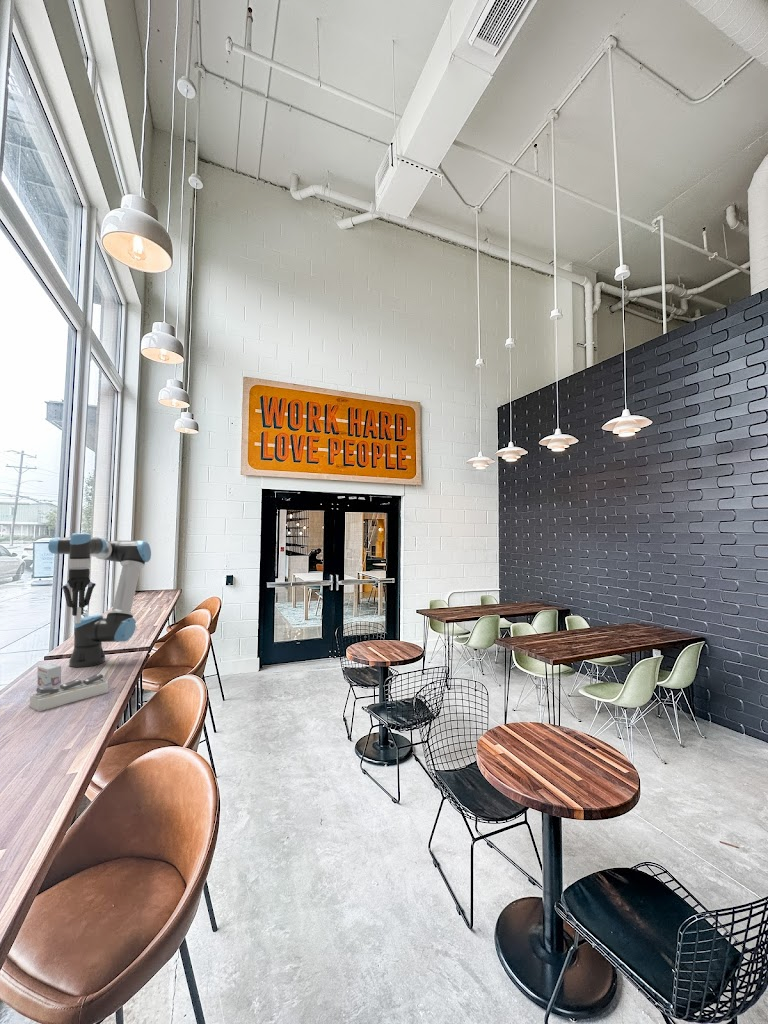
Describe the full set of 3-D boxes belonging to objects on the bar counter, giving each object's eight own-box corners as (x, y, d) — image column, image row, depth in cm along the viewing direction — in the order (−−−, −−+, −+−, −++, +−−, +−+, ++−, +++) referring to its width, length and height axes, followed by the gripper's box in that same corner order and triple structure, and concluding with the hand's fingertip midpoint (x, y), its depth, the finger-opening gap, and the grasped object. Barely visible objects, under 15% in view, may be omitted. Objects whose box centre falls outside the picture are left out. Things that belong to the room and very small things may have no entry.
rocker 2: (77, 681, 179) (77, 678, 179) (81, 683, 177) (81, 680, 177) (60, 688, 174) (60, 684, 174) (64, 689, 172) (64, 686, 172)
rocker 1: (53, 690, 173) (54, 687, 173) (57, 692, 171) (59, 688, 171) (36, 691, 168) (37, 687, 168) (40, 693, 166) (41, 689, 166)
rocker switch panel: (98, 688, 188) (98, 677, 188) (108, 692, 184) (108, 680, 184) (29, 706, 168) (30, 694, 168) (38, 711, 163) (39, 698, 164)
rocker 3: (98, 675, 186) (98, 672, 186) (103, 677, 184) (102, 674, 184) (83, 683, 181) (82, 680, 181) (87, 684, 179) (86, 681, 179)
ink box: (35, 695, 179) (37, 665, 180) (49, 691, 184) (51, 662, 184) (47, 699, 175) (48, 668, 176) (61, 695, 180) (62, 665, 180)
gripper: (91, 567, 203) (89, 619, 202) (58, 569, 192) (56, 624, 191) (99, 567, 199) (97, 621, 198) (66, 569, 188) (64, 626, 187)
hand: (77, 622), depth 194 cm, fingers closed
